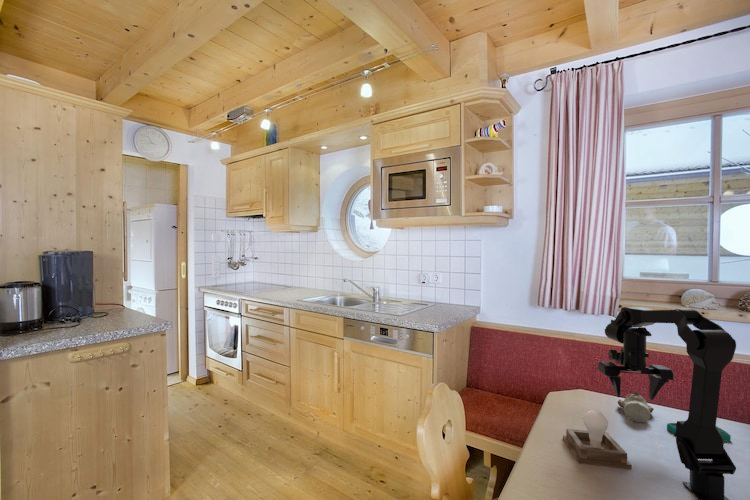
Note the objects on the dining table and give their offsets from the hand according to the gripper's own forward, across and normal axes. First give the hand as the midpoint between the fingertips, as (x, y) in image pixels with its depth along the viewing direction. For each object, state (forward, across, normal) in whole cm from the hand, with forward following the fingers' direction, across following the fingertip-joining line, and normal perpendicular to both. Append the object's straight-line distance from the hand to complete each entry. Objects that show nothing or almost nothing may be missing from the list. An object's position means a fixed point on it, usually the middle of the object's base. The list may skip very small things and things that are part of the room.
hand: (634, 398), depth 109 cm
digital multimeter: (+14, -22, -8) cm, 27 cm away
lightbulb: (+12, +15, +10) cm, 22 cm away
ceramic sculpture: (+13, -9, -18) cm, 24 cm away
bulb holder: (+13, +15, +10) cm, 22 cm away
